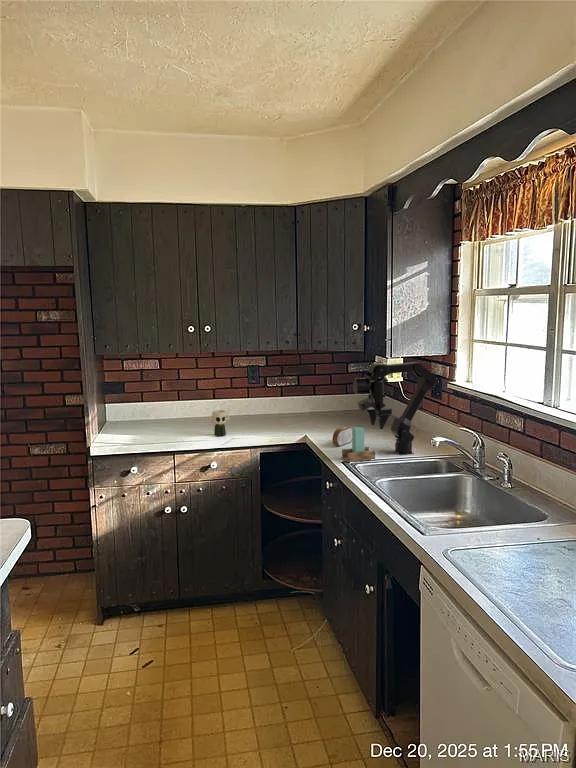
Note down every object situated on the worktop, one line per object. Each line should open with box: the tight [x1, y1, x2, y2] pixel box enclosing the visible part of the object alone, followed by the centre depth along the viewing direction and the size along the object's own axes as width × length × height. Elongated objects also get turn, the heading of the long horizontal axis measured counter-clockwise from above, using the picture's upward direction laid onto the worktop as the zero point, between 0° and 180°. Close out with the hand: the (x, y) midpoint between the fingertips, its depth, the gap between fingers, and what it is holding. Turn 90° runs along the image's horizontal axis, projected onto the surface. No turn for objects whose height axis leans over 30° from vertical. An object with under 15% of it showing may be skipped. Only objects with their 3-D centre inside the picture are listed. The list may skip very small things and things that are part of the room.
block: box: [351, 426, 365, 453], centre depth 249 cm, size 4×4×13 cm
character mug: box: [208, 409, 230, 437], centre depth 301 cm, size 11×7×13 cm, turn 112°
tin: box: [332, 425, 353, 447], centre depth 275 cm, size 15×3×8 cm, turn 141°
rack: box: [341, 446, 376, 463], centre depth 250 cm, size 12×8×4 cm
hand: (377, 427), depth 253 cm, fingers open, 9 cm apart
